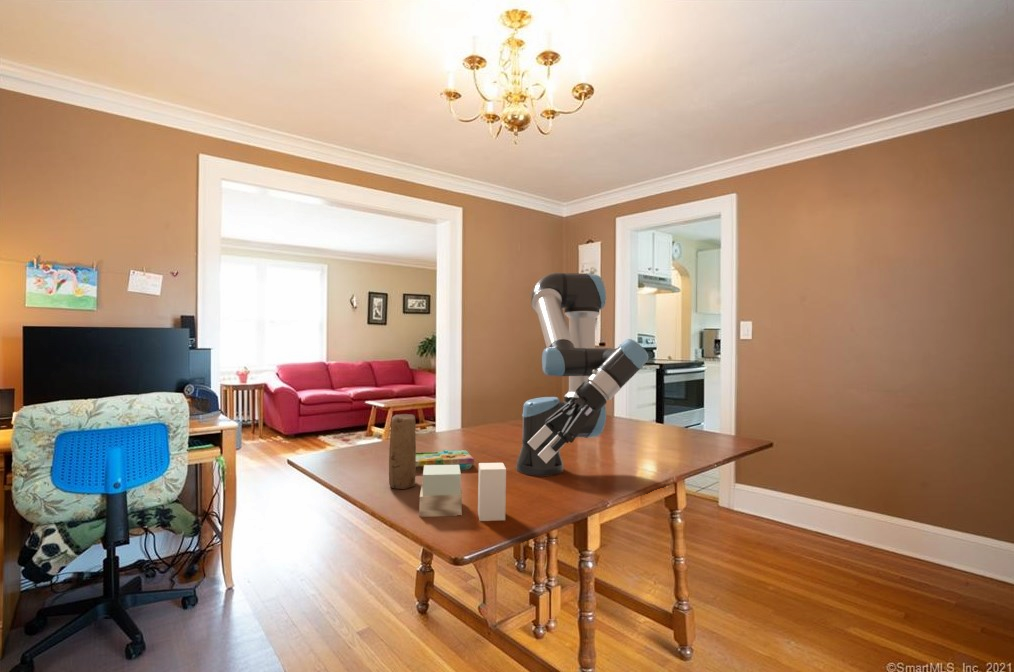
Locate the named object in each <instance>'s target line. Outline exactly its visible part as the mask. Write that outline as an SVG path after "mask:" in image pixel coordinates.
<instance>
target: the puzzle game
mask: <svg viewBox="0 0 1014 672" xmlns="http://www.w3.org/2000/svg"><path fill="white" fill-rule="evenodd" d="M474 463H475V459H474V457H473V456H472V455H471V454H470V453H469V452H468V451H467V450H465V449H464V450H463V449H461V450H448V449H446V450H443V451H429V452H427V451H426V452H416V468H417V467H419V468H420V469H421V471H422V472H423V470H424V465H459V466H460V471H461V470H470V469H471V468H472V466H473V465H474Z"/></svg>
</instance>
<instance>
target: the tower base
mask: <svg viewBox="0 0 1014 672" xmlns="http://www.w3.org/2000/svg"><path fill="white" fill-rule="evenodd" d="M462 494H463V493H462V486H461V487H460V495H435V496H423V483H422V484H421V486H420V493H419V503H418V504H419V507H418V508H419V510H418V511H419V514H418V516H419V517H421V518H423V517H424V518H425V517H457V515H461V516H462V513H463V511H462V510H463V508H462V507H463V505H462V504H463V503H462V502H463V500H462V499H463V496H462ZM419 517H418V518H419Z"/></svg>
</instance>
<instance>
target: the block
mask: <svg viewBox="0 0 1014 672" xmlns="http://www.w3.org/2000/svg"><path fill="white" fill-rule="evenodd" d="M416 427H417V425H416V416H415V415H414V414H412V413H411V414H410V413H409V414H408V413H403V414H402V413H401V414H400V413H399V414H395V415H393V416H392V417H391V421H390V432H389V433H390V434H389V448H388V449H389V450H388V451H389V453H388V485H389V487H390V488H392V489H398V490H404V489H405V490H406V489H410V488H412V487H414V486H415V485H416V469H417V467H416V453H417V452H416V450H417V449H416V447H417V446H416V445H417V444H416V441H417V439H416Z"/></svg>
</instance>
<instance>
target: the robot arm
mask: <svg viewBox="0 0 1014 672" xmlns="http://www.w3.org/2000/svg"><path fill="white" fill-rule="evenodd" d="M606 294H607V291H606V286H605V283H604V281H603V279H602V278H601V276H600V275H598V274H594V273H588V272H586V273H581V272H580V273H579V272H577V273H575V272H574V273H571V272H569V273H568V272H567V273H566V272H553V273H549V274H546V275H545V276H543V277H542V278H541V279H539V280H538V281H537V282H536V283H535V286H533V289H532V290H531V294H530V296H531V297H530V301H531V307H532V308H533V310H534V312H535V313H537V317H538V320H539V324H540V327H541V331H542V335H543V339H544V343H545V346H546V348H544V349H543V351H542V355H541V364H542V366H541V368H542V372H543V373H544V375H546V376H555V377H568V391H567V393H565V395H563V396H564V397H563V400H564V401H560V399H559V397H557V396H544V397H543V396H541V397H536V398H531V399H528V400H526V401H525V402H524V403H523V408H522V415H521V416H522V437H521V438H522V439H521V440H522V442H521V445H522V446H521V449H520V451H519V454H518V458H517V460H516V471H518V472H519V473H521V474H525V475H528V476H529V475H530V476H537V477H545V476H546V477H547V476H548V475H549V476H555V474H556V475H559V474H558V473H560V472H562V471H563V472H564V462H563V460H562V459H563V458H562V456H561V453H560V451H561V449H562V448H563V447H565V445H566V444H568V443H573V442H574V441H575V439H576V438H584V439H589V438H597V437H599V436H600V435H601V434H602V433H603V431H604V429H605V426H606V421H607V410H606V408H607V406H606V404H607V401H611V400H612V399H613V398H614V397H615V396H616V394H617V393H618V392H619V391H620V390H621V389H622V388H623V387H624V386H625V385H626V384H627V383H628V382H629V381H630V380H631V379H632V378H633V377H634V376H635V375H636V374H637V373H638V372H639V371H640V370H642V369H643V367H644V365H646V363H647V362H648V360H649V354H648V352H647V351H646V349H645V348H644V347H643V346H642V345H641V344H640V343H638V341H636V340H634V339H632V338H627V339H625V340H624V341H623V342H621V343H620V344H619V346H618V347H617V348H616V347H615V348H612V347H611V348H610V347H609V348H608V347H605V348H604V347H602V348H599V347H598V348H596V318H597V317H598V316H599V315H600V314H601V312H600V311H601V310H603V309H604V308H605V305H606V299H607V295H606ZM563 310H564V311H563ZM565 316H566V317H567V318H568V322H567V321H566V318H565ZM563 472H562V473H563ZM560 474H561V473H560Z"/></svg>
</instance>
